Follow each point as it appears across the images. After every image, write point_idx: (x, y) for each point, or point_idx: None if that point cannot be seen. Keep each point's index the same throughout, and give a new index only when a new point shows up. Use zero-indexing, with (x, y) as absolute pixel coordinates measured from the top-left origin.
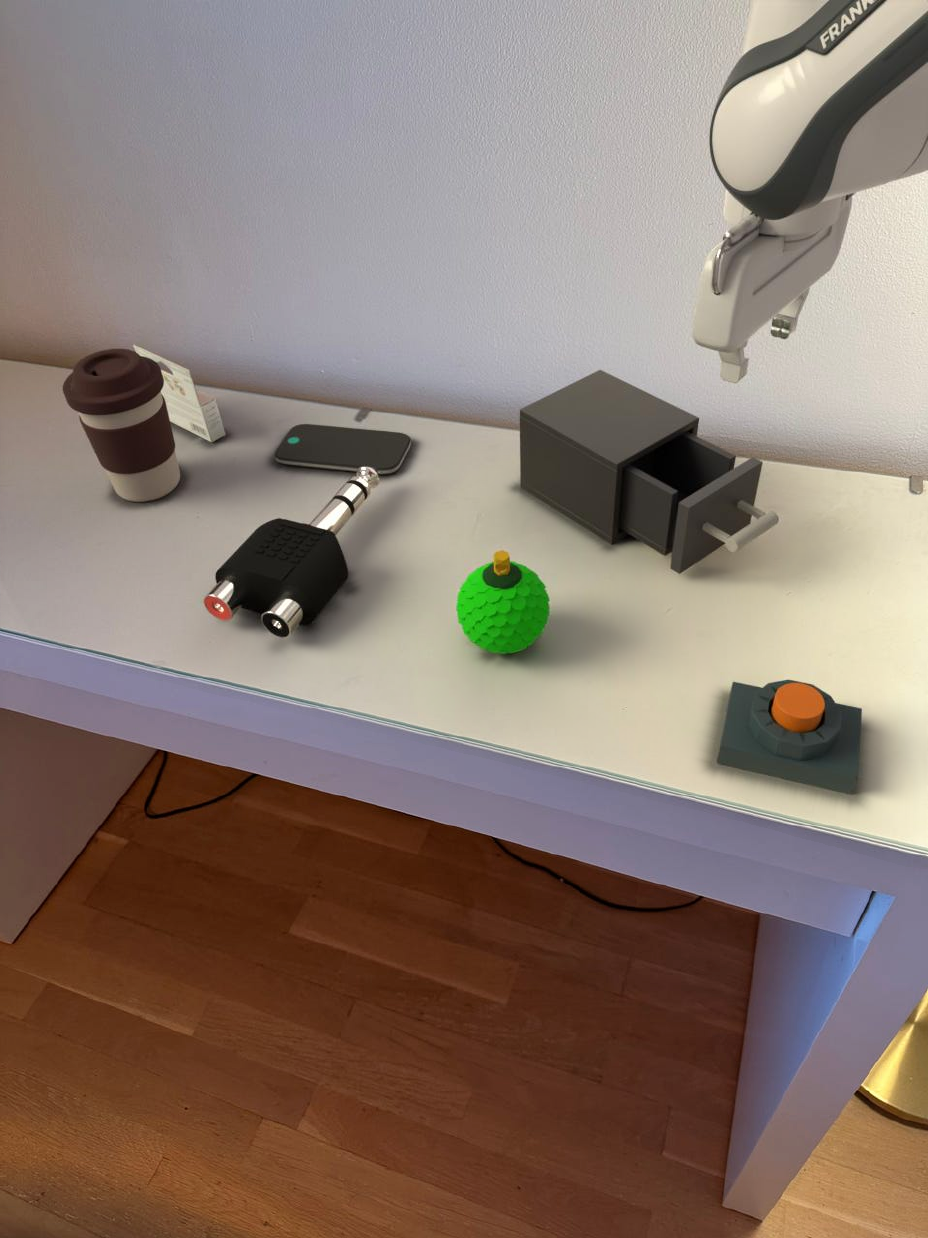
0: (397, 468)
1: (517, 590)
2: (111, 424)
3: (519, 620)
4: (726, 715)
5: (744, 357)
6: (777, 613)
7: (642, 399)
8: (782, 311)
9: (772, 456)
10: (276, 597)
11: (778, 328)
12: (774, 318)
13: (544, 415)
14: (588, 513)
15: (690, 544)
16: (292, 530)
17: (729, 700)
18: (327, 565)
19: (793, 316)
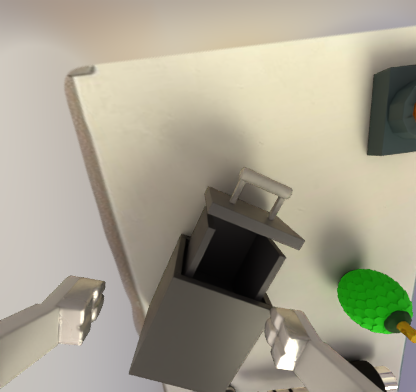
0: (228, 387)
1: (405, 307)
2: None
3: (404, 290)
4: (411, 151)
5: (326, 355)
6: (283, 145)
7: (163, 328)
8: (50, 341)
9: (99, 192)
10: None
11: (92, 310)
12: (82, 340)
13: (223, 380)
14: None
15: (278, 220)
16: None
17: (398, 153)
18: None
19: (57, 313)
